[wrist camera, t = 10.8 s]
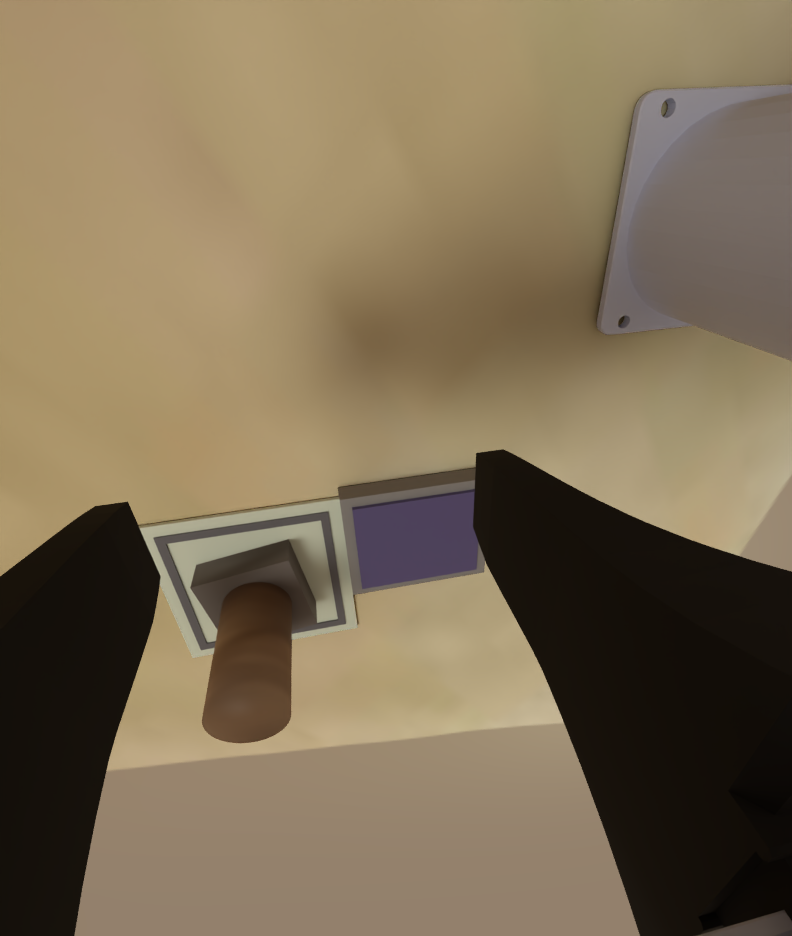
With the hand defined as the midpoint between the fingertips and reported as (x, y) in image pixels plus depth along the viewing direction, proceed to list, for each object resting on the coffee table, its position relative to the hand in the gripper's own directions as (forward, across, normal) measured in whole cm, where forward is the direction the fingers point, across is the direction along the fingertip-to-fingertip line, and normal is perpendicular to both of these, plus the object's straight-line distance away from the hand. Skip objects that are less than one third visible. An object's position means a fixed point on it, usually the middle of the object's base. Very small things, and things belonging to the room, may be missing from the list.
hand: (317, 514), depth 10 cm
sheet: (+10, +4, +11) cm, 15 cm away
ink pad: (+10, -4, +9) cm, 14 cm away
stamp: (+10, +4, +11) cm, 15 cm away
